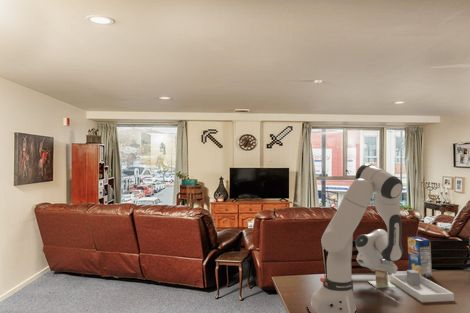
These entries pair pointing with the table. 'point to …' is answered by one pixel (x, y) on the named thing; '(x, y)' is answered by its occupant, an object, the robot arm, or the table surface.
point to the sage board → (381, 285)
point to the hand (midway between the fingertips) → (381, 272)
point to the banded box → (381, 277)
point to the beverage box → (420, 255)
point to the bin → (423, 289)
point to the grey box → (413, 277)
